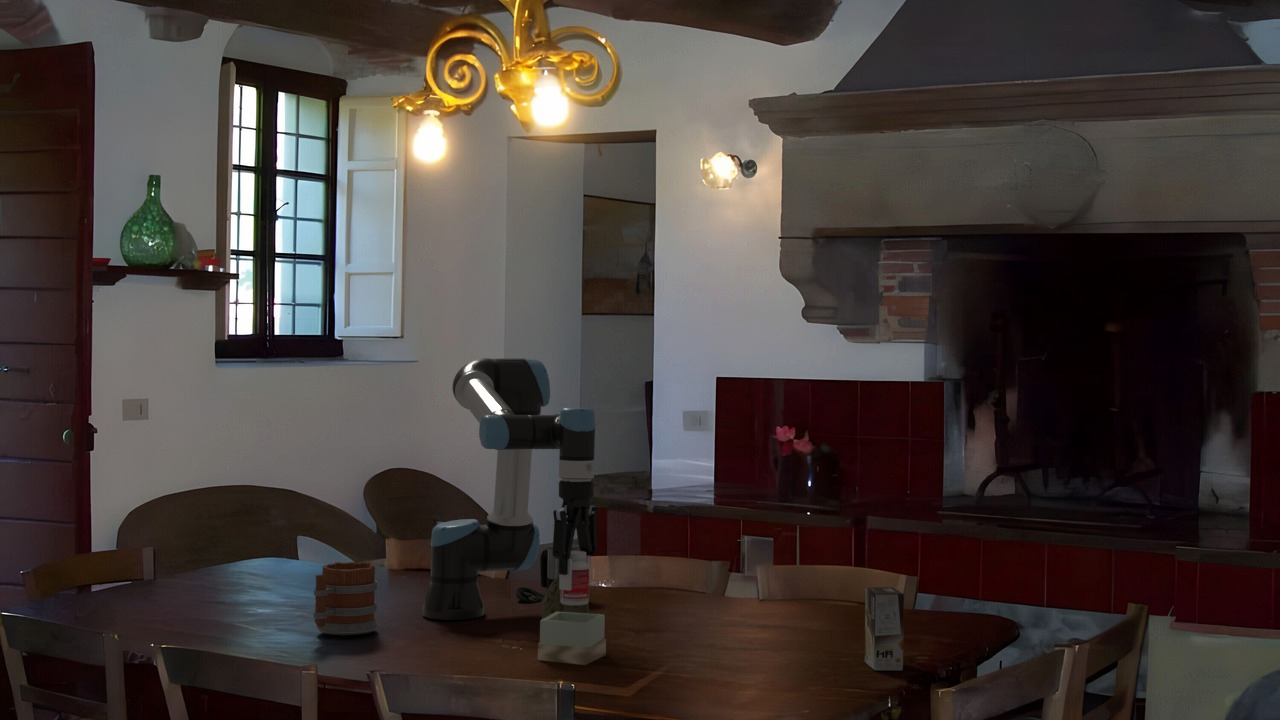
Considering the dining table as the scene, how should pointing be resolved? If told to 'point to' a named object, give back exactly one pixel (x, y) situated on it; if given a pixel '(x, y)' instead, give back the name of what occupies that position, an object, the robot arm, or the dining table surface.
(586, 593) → the pill bottle
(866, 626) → the coffee box
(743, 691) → the dining table surface
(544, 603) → the decorative egg
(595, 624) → the tower top
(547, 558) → the milk frother
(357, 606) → the mug
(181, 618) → the dining table surface
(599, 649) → the tower base
